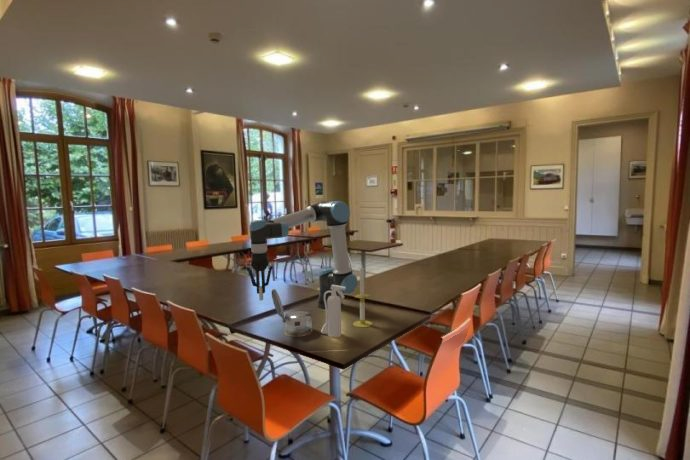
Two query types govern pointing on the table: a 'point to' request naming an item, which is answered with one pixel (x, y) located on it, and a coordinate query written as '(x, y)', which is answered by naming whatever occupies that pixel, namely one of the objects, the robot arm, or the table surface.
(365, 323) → the candle
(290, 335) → the trivet
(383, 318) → the table surface
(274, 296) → the lid
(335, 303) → the white extinguisher
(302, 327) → the pot
